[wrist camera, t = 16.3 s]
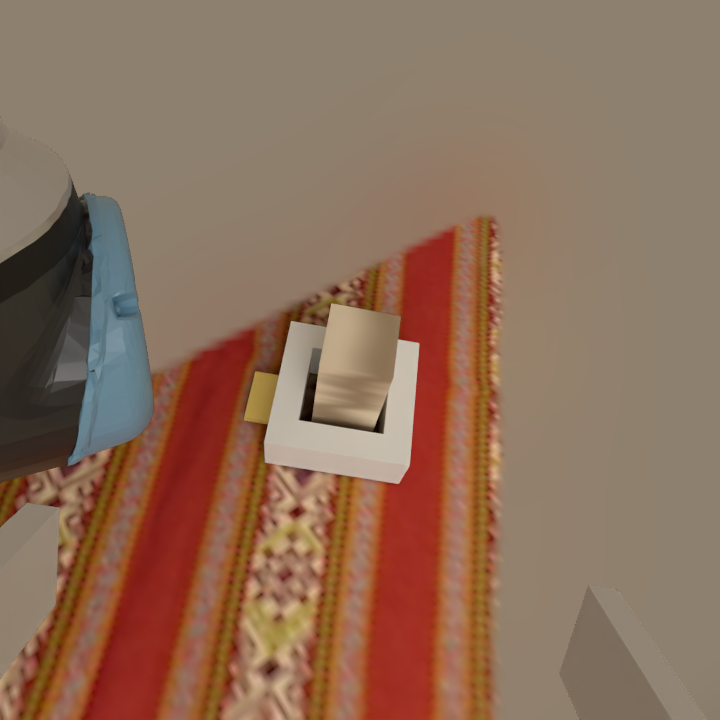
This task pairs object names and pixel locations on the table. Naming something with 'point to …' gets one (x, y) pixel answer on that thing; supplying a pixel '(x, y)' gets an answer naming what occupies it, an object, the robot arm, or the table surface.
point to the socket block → (325, 442)
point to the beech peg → (355, 367)
